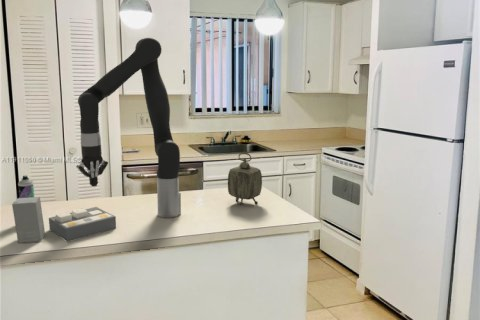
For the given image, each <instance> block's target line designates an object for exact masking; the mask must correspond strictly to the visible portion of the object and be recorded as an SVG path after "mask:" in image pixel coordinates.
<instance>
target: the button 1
mask: <svg viewBox="0 0 480 320" xmlns="http://www.w3.org/2000/svg"><path fill="white" fill-rule="evenodd" d="M70 213H71V212H68V211H64V212H60V213H56V214H55V216H56V221H58V222H59V223H63V222H67V221H71V220H72V215H71V214H70Z"/></svg>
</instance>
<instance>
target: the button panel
mask: <svg viewBox="0 0 480 320" xmlns="http://www.w3.org/2000/svg"><path fill="white" fill-rule="evenodd" d="M84 209H85V210H87V211H88V212H90V211H94V210H99V211H101V212H103V213H100V214H96V215H91V214H89V213H88V216H87V217H83V218H79V219H76V218H74V217H72V220H71V221H67V222H63V223H59V222H58V221H56V215H55V216H51V217H48V224H49V226H48V227H49V231H51V232H52V233H53V234H55V235H57V236H58V237H59V238H61V239H62V240H64V241H66V242H71V241H75V240H79V239H83V238H87V237H89V236H93V235H97V234H100V233H101V234H102V233H104V232H108V231H111V230H114V229H117V220H116V219H117V218H116V216H115V215H114V214H111V213H109V212H108V211H105V210H103V209H102V208H99V207H97V206H94V207H90V208H84ZM69 213H70V214H71V215H72V212H69Z"/></svg>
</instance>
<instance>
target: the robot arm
mask: <svg viewBox="0 0 480 320" xmlns="http://www.w3.org/2000/svg"><path fill="white" fill-rule="evenodd" d="M161 55H162V45H161V43H160V42H159V41H158V40H157V39H156V38H153V37H145V38H144V37H143V38H141V39H139V40H138V41H137V43H136V44H135V47H134V51H133V52H132V53H131V55H129V56H128V57H127V58H126V59H124V61H122V62H121V63H119V64H117V66H115V67H113V68H112V69H110V70H109V71H108V72H106V74H104V75H103V76H101V77H100V79H98V80H97V82H95V83H94V84H93V85H91V86H90V87H89V88H87V89H86V90H85V91H84V92H82V93H81V94H80V95H79V96H78V98H77V105H78V107H79V113H80V121H79V122H80V123H79V127H80V129H79V130H80V149H81V161H80V162H81V163H79V164H77V165H76V169H77V170H78V171H79V172H80V173H82V175H83V176H85V177H86V178H88V179H89V185H90V186H91V187H94V188H95V187H97V185H98V184H99V180H98V177H99V176H100V175H102V174H103V173H104V171H105V169H106V168H107V166H108V165H109V162H108V161H106V160H105V159H103V156H102V154H103V153H102V140H101V133H100V123H99V111H100V110H99V109H100V108H99V105H100V102H102V101H103V100H105V98H107V97H109V96H111V95H112V94H113V93H115V92H116V91H117V90H118V89H120V88H121V86H122V85H124V84H125V83H126V82H127V81H128V80H129V79H130V78H131V77H132V76H134V75H135V74H136V73H138V72H139V71H140V73H141V76H142V84H143V91H144V92H143V93H144V97H145V104H146V109H147V112H148V116H149V121H150V124H151V127H152V132H153V141H154V142H153V143H154V151H155V155H156V156H157V162H158V163H157V164H158V165H157V166H158V167H157V171H156V185H157V186H156V190H157V192H156V193H157V196H156V198H157V216H158V217H160V218H166V219H167V218H175V217H178V216H179V215H181V214H182V203H181V202H182V201H181V199H182V197H181V192H179V191H180V189H179V188H180V187H179V185H180V184H179V173H180V169H181V168H180V166H181V164H180V163H181V153H180V148H179V147H180V146H179V145H178V144H177V143H175V142H174V139H173V135H172V132H171V125H170V122H171V121H170V117H171V109H170V108H171V107H170V100H169V95H168V91H167V88H166V85H165V83H164V81H163V78H162V76H161V72H160V69H159V62H158V60H159V58H160V57H161ZM85 168H86V169H85Z"/></svg>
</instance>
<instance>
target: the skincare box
mask: <svg viewBox="0 0 480 320" xmlns="http://www.w3.org/2000/svg"><path fill="white" fill-rule="evenodd" d="M41 202H42V201H41V197H40V196H34V197H31V198H19V197H18V198H17V199H15V200H14V201H13V203H12V204H11V205H12V211H13V212H12V213H13V219H14V225H15V232H16V237H17V243H18V244H23V243H36V242H37V243H38V242H42V240H43V238H44V237H45V236H46V231H45V224H44V223H45V222H44V218H43V217H44V215H43V210H42V203H41Z"/></svg>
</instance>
